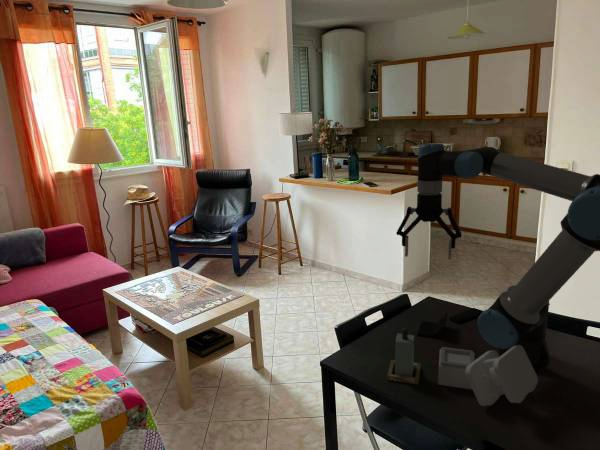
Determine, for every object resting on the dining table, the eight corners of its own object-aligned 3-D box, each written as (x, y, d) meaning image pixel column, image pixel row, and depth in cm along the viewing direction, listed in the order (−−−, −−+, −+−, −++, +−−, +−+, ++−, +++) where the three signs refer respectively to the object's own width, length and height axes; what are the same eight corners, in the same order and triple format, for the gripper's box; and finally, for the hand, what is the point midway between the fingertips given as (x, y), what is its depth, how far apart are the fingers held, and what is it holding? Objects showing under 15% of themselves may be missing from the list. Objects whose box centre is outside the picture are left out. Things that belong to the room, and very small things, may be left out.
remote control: (473, 311, 176) (447, 320, 169) (474, 307, 176) (448, 316, 168) (484, 316, 172) (458, 325, 165) (485, 311, 172) (458, 321, 164)
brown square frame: (420, 367, 138) (420, 363, 138) (418, 384, 130) (418, 380, 130) (391, 363, 141) (391, 359, 141) (387, 380, 133) (387, 375, 133)
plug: (413, 370, 137) (414, 326, 133) (411, 379, 133) (412, 334, 129) (396, 368, 139) (397, 324, 135) (394, 377, 134) (395, 332, 130)
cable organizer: (516, 409, 110) (494, 364, 112) (480, 411, 118) (461, 368, 120) (541, 383, 119) (521, 342, 121) (506, 386, 127) (488, 348, 129)
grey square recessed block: (473, 370, 136) (474, 350, 134) (474, 389, 126) (476, 368, 125) (439, 366, 139) (439, 345, 137) (438, 384, 130) (438, 363, 128)
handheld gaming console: (416, 318, 167) (433, 301, 163) (431, 329, 168) (449, 312, 163) (415, 337, 157) (434, 319, 153) (432, 348, 157) (451, 331, 153)
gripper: (471, 191, 141) (467, 255, 146) (391, 190, 149) (390, 250, 154) (472, 195, 134) (468, 262, 139) (388, 194, 142) (387, 257, 147)
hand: (427, 256), depth 146 cm, fingers open, 13 cm apart
